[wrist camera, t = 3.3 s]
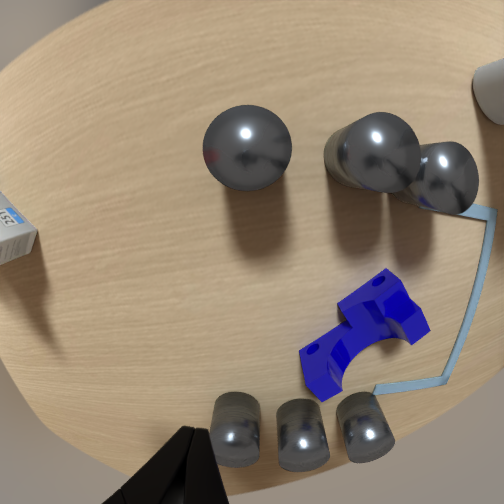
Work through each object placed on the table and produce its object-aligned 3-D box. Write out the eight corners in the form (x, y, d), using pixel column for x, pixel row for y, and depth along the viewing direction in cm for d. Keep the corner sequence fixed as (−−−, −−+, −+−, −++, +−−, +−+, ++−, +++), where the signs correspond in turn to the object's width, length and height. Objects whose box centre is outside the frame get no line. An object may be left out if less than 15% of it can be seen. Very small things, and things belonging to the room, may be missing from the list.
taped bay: (495, 209, 16) (497, 209, 16) (445, 383, 20) (446, 384, 20) (420, 192, 16) (422, 192, 16) (372, 393, 20) (373, 395, 20)
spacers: (432, 145, 15) (480, 141, 10) (368, 422, 21) (382, 462, 16) (221, 115, 15) (206, 93, 11) (215, 422, 21) (207, 468, 17)
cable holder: (384, 267, 18) (411, 289, 14) (404, 304, 18) (430, 330, 15) (286, 334, 19) (292, 370, 15) (313, 365, 20) (321, 402, 16)
